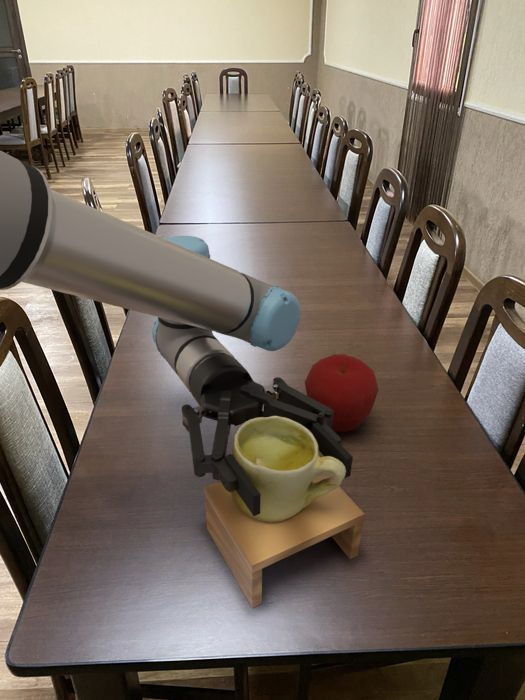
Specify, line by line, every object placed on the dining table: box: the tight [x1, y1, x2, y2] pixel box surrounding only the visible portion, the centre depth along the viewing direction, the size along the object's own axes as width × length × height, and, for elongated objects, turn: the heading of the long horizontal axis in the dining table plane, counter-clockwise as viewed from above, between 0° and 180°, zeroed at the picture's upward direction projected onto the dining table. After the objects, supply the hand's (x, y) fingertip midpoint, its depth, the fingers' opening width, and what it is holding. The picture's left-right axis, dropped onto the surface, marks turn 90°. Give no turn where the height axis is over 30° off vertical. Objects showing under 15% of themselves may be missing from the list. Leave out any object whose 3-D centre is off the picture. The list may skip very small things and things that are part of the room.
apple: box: [304, 353, 379, 433], centre depth 80 cm, size 11×11×12 cm
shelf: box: [203, 475, 365, 609], centre depth 62 cm, size 14×12×7 cm
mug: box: [231, 416, 346, 522], centre depth 59 cm, size 12×10×10 cm
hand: (304, 485), depth 54 cm, fingers closed on mug, 10 cm apart
